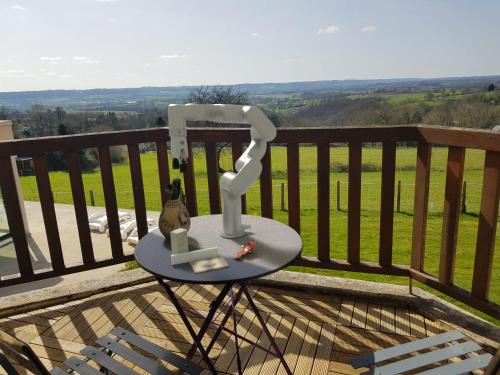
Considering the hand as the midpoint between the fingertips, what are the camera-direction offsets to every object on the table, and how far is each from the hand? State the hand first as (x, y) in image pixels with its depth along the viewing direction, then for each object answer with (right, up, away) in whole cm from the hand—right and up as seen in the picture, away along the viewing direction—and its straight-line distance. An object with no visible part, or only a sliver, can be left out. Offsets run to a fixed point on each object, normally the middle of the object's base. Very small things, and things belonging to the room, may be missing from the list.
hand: (179, 170), depth 165 cm
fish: (+30, -38, -4) cm, 48 cm away
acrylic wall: (+8, -39, -10) cm, 41 cm away
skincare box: (+2, -38, -6) cm, 39 cm away
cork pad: (+15, -40, -15) cm, 45 cm away
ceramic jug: (-5, -33, +16) cm, 37 cm away
